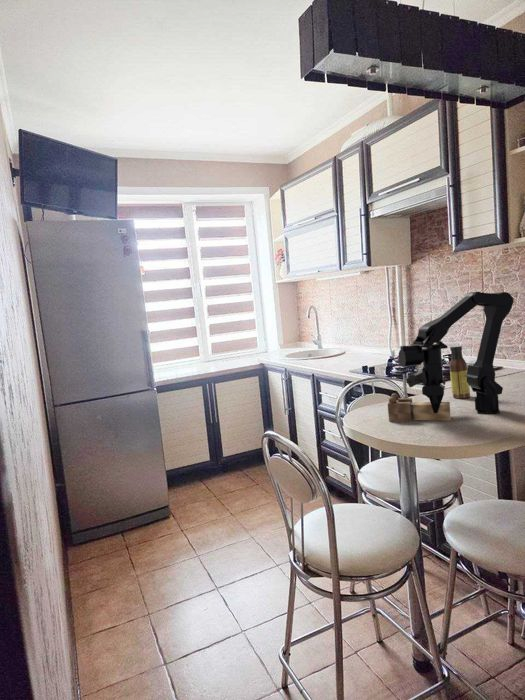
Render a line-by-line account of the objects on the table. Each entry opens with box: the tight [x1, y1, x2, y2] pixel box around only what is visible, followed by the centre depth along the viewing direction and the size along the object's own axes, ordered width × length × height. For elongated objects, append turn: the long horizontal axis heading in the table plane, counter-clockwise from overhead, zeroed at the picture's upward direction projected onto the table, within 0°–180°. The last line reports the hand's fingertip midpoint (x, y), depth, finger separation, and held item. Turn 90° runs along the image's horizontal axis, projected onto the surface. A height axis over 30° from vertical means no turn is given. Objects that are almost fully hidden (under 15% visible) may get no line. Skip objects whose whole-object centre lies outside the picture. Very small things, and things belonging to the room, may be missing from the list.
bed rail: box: [411, 401, 451, 421], centre depth 143 cm, size 14×4×5 cm, turn 66°
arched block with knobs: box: [387, 392, 413, 422], centre depth 146 cm, size 7×8×8 cm
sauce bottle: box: [448, 345, 471, 399], centre depth 166 cm, size 6×6×20 cm
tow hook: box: [402, 373, 409, 398], centre depth 161 cm, size 8×13×9 cm
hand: (436, 410), depth 142 cm, fingers open, 6 cm apart
